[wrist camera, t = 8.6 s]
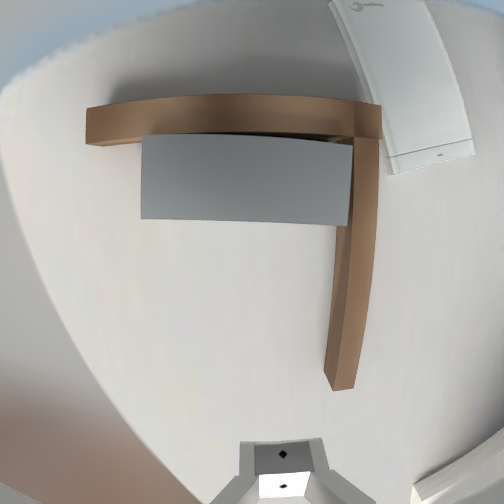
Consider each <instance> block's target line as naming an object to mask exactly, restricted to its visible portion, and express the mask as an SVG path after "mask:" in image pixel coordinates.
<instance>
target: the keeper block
mask: <svg viewBox="0 0 504 504" xmlns="http://www.w3.org/2000/svg"><path fill="white" fill-rule="evenodd" d="M352 152H353V146H351V145H344V144H336V143H328V142H320V141H311V140H301V139H290V138H278V137H263V136H246V135H218V134H163V135H143V139H142V161H141V219H173V220H216V221H248V222H274V223H297V224H317V225H335V226H347V221H348V210H349V198H350V185H351V170H352Z"/></svg>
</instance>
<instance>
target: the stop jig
mask: <svg viewBox="0 0 504 504" xmlns="http://www.w3.org/2000/svg"><path fill="white" fill-rule="evenodd" d="M163 134H218V135H246V136H263V137H278V138H306V139H323V140H338V144H344V145H351V146H353V152H352V170H351V185H350V198H349V210H348V221H347V226H337V236H336V253H335V268H334V281H333V293H332V304H331V314H330V324H329V333H328V342H327V350H326V358H325V365H324V373H325V375H326V377H327V379H328V381H329V383H330V386H331V388H332V390H333V391H339V390H345V389H352V388H354V383H355V378H356V374H357V369H358V364H359V359H360V353H361V348H362V342H363V336H364V330H365V324H366V318H367V311H368V304H369V296H370V289H371V280H372V271H373V262H374V251H375V239H376V225H377V208H378V181H379V140H383V134H382V106H381V105H376V104H370V103H363V102H356V101H348V100H340V99H330V98H320V97H308V96H293V95H272V94H213V95H191V96H177V97H165V98H154V99H145V100H137V101H129V102H122V103H115V104H109V105H103V106H97V107H92V108H87V110H86V144H90V145H96V146H102V147H104V146H112V145H120V144H129V143H139V142H142V139H143V135H163Z"/></svg>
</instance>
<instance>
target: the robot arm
mask: <svg viewBox="0 0 504 504" xmlns="http://www.w3.org/2000/svg"><path fill="white" fill-rule="evenodd" d="M291 496H304V497H305V498H306V499H307V500H308V501H309V502H310V503H311V504H376V502H375V501H374V500H373V499H371V498H370V497H369V496H367V495H366V494H365V493H363V492H362V491H361V490H359V489H358V488H357V487H355V486H354V485H353V484H351V483H350V482H349V481H347V480H346V479H345V478H344V477H342V476H341V475H340V474H338V473H337V472H336V471H335V470H330V469H329V465H328V461H327V457H326V453H325V449H324V445H323V441H322V439H321V438H314V439H300V440H287V441H278V442H240V461H239V476H235V477H234V478H233V479H232V480H231V481H230V482H229V483H228V484H227V486H226V487H225V488H224V489H223V490H222V491H221V492H220V493H219V494H218V495H217V496H216V497H215V499H214V500H213V501H212V502H211V503H210V504H256V503H257V502H258V500H259V498H275V497H291ZM0 504H43V503H40V502H38V501H36V500H34V499H32V498H30V497H27V496H25V495H23V494H21V493H19V492H17V491H15V490H13V489H11V488H9V487H8V486H6V485H4V484H2V483H1V482H0ZM451 504H504V477H503V478H501V479H499V480H497V481H496V482H494V483H492V484H490V485H488V486H486V487H485V488H483V489H481V490H479V491H477V492H475V493H473V494H471V495H469V496H467V497H465V498H462V499H460V500H458V501H456V502H454V503H451Z"/></svg>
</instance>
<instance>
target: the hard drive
mask: <svg viewBox="0 0 504 504" xmlns="http://www.w3.org/2000/svg"><path fill="white" fill-rule="evenodd" d="M328 6H329V8H330V10H331V12H332V14H333V16H334V19H335V21H336V23H337V25H338V27H339V30H340V32H341V34H342V37H343V39H344V42H345V44H346V46H347V49H348V51H349V54H350V56H351V59H352V61H353V64H354V67H355V69H356V72H357V75H358V77H359V80H360V83H361V86H362V89H363V92H364V95H365V98H366V101H367V103H370V104H376V105H381V106H382V134H383V140H379V143H380V147H381V151H382V154H383V158H384V163H385V167H386V171H387V175H397V174H401V173H405V172H409V171H413V170H416V169H420V168H424V167H427V166H431V165H435V164H439V163H443V162H446V161H450V160H454V159H458V158H462V157H466V156H469V155H473V154H476V149H475V144H474V140H473V134H472V130H471V126H470V122H469V118H468V114H467V110H466V107H465V103H464V99H463V96H462V93H461V90H460V86H459V83H458V80H457V77H456V74H455V71H454V68H453V66H452V63H451V60H450V58H449V55H448V52H447V50H446V47H445V45H444V43H443V40H442V38H441V35H440V33H439V31H438V28H437V26H436V24H435V22H434V20H433V17H432V15H431V13H430V11H429V9H428V7H427V5H426V3H425V2H424V1H421V0H331V1H330V3H329V4H328Z"/></svg>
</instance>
